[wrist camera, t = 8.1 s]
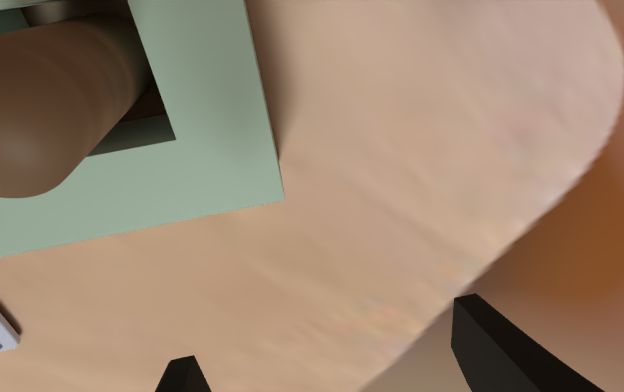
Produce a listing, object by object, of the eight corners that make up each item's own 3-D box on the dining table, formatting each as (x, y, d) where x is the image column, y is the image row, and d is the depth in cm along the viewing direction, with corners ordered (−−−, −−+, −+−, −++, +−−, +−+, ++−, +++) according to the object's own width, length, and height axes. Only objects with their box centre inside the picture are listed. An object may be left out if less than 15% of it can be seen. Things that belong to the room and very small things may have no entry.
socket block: (40, 209, 17) (-4, 257, 14) (-144, -90, 12) (-282, -114, 9) (278, 162, 18) (285, 200, 15) (214, -145, 12) (203, -185, 9)
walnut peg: (92, 108, 15) (-34, 213, 9) (47, 25, 14) (-154, 70, 7) (169, 89, 15) (105, 177, 9) (134, 3, 14) (20, 28, 7)
